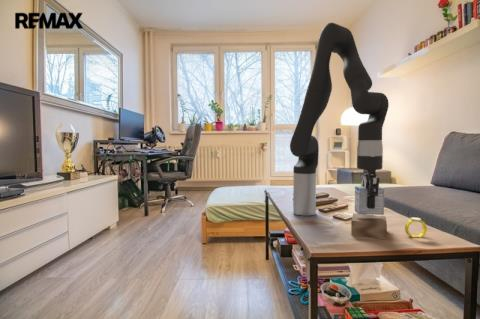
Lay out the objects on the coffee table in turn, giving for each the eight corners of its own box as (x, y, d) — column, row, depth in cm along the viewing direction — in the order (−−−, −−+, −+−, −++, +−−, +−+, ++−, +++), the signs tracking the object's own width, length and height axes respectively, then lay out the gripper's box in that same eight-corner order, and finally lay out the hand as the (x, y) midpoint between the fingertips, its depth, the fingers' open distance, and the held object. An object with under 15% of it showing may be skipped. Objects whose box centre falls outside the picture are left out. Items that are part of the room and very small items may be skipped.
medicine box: (378, 211, 91) (379, 186, 91) (384, 215, 87) (384, 188, 86) (354, 211, 92) (354, 186, 91) (358, 214, 87) (359, 188, 87)
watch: (408, 239, 84) (407, 220, 83) (403, 236, 86) (402, 217, 86) (428, 237, 83) (427, 218, 83) (422, 234, 86) (422, 216, 86)
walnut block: (351, 236, 87) (351, 220, 87) (353, 227, 96) (353, 213, 96) (386, 240, 83) (386, 224, 83) (385, 230, 92) (385, 216, 92)
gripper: (352, 153, 96) (352, 201, 97) (362, 155, 82) (361, 211, 83) (375, 153, 94) (374, 202, 95) (389, 155, 80) (388, 212, 81)
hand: (368, 206), depth 89 cm, fingers closed on medicine box, 4 cm apart
